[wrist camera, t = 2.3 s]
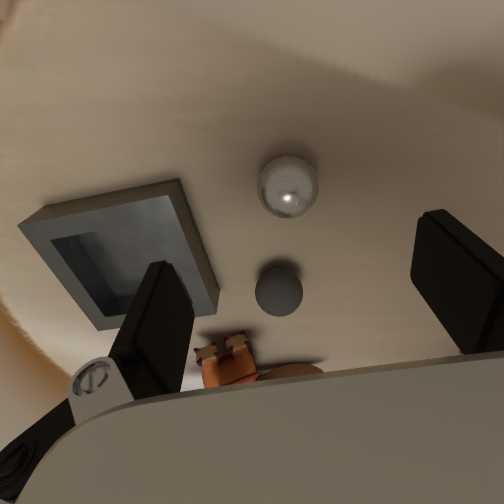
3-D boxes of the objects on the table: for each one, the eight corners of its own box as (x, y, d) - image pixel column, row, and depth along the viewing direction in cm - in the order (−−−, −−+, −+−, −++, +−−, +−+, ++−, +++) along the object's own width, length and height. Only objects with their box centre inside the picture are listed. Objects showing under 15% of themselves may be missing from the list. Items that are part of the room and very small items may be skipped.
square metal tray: (178, 178, 21) (168, 194, 18) (219, 290, 27) (216, 314, 24) (43, 206, 22) (17, 225, 20) (111, 306, 28) (98, 331, 26)
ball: (296, 255, 24) (303, 286, 21) (302, 290, 27) (308, 323, 23) (250, 263, 25) (250, 294, 22) (259, 296, 27) (260, 329, 24)
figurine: (122, 356, 30) (165, 452, 35) (112, 426, 22) (169, 537, 27) (291, 295, 34) (306, 388, 40) (333, 336, 26) (345, 445, 32)
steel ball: (310, 142, 19) (321, 161, 16) (315, 197, 21) (326, 223, 18) (252, 155, 20) (251, 175, 16) (262, 207, 22) (264, 234, 19)
